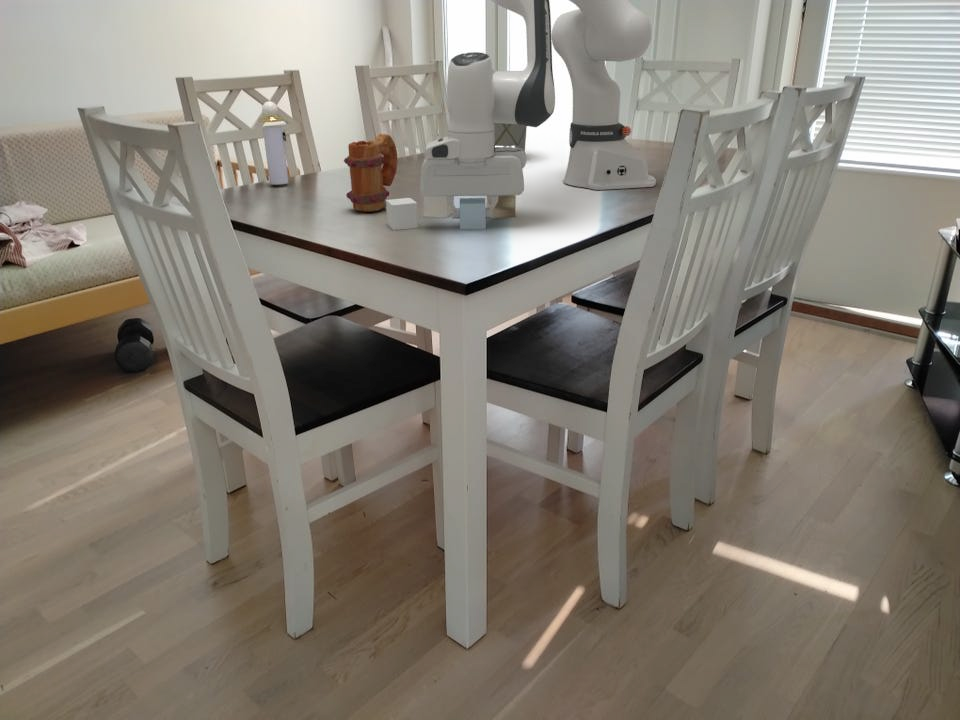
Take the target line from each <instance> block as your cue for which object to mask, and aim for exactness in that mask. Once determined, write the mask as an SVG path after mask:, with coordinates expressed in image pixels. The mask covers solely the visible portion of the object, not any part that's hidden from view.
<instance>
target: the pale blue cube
mask: <svg viewBox="0 0 960 720" xmlns="http://www.w3.org/2000/svg"><path fill="white" fill-rule="evenodd" d="M459 208H460V219H459V230H464V231H465V230H486V227H487V225H486V224H487V223H486V219H487V218H486V209H485V208H486V198H485V197H470V198H469V197H467V198H465V197H463V198H462V197H461V198H460V197H459Z"/></svg>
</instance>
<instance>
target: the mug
mask: <svg viewBox="0 0 960 720" xmlns="http://www.w3.org/2000/svg"><path fill="white" fill-rule="evenodd" d="M347 146H348V156H346V157H345V158H344V159H343V162H344V163H345V164H346V165H347V167H348V168H349V175H350V176H349V177H350V183H351V185H350V186H351V190H350V191H349V192H347V193H346V198H347V199H348V200H350V202H351V203H352V208H353V209H354V210H355V211H357V212H361V213H362V212H363V213H371V212H373V213H374V212H378V211H380V210H382V209H384V207H385V205H386V200H387V198H388V197H389V196H390V192H389V190H387V188H386V187H390V186H391V185H392V184H393V181H394V179H395V176H396V174H397V170H398V169H397V167H398V151H397V147H396V144H395V141H394V139H393V138H392V136H391V135H389V134H386V133H380V134H378V135H377V136H376V139H375V140H369V141H366V140H359V141H356V142H355V141H352V142H350V143H349V144H348V145H347Z"/></svg>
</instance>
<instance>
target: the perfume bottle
mask: <svg viewBox="0 0 960 720" xmlns="http://www.w3.org/2000/svg"><path fill="white" fill-rule="evenodd" d="M261 111H262V113H263V115H264V116H263V117H258V121H259V122H260V123H277V122H282V121H284V120H285V119H284V117H283V116H277V115H278V112H279V107H278V106H277V104H276V103H275V102H274V101H271V100H269V101H265V102H264V103H263V105H262V107H261ZM262 133H263V141H264V148H265V149H264V150H265V155H266V164H267V170H268V178H269V184H270V185H284V184H285V185H286V184H288V183H289V182H290V181H289V174H288V173H289V172H288V165H287V158H286V157H287V155H286V149H285V142H287V135H286V130H285V129H283V126H282V125H266V126H262Z"/></svg>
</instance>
